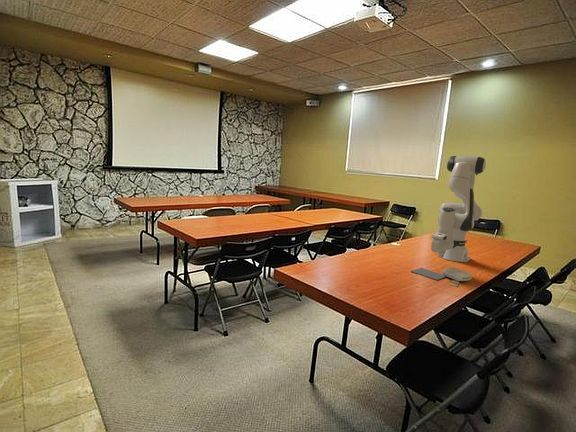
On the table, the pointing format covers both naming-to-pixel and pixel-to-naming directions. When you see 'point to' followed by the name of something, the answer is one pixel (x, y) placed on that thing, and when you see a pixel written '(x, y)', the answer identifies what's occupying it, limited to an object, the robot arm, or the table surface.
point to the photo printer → (457, 274)
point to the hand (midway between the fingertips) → (440, 257)
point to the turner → (454, 283)
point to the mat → (429, 274)
